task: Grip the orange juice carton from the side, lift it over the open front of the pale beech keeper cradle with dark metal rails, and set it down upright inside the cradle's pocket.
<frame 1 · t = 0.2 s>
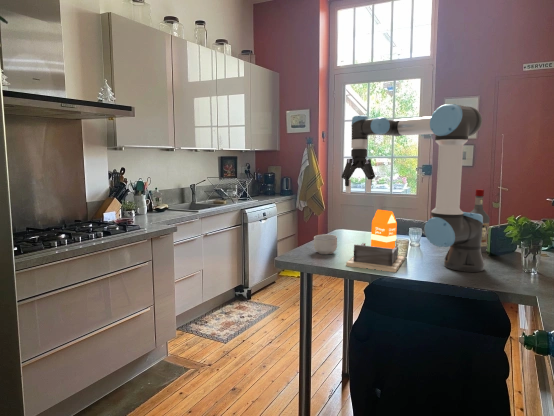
hand: (358, 192, 197), 27 cm above the table, tool pointing down, fingers open, 13 cm apart
keeper cradle: (376, 262, 174), on the table
liquor: (475, 250, 201), on the table
teacup: (325, 252, 191), on the table
orange juice: (382, 252, 194), on the table
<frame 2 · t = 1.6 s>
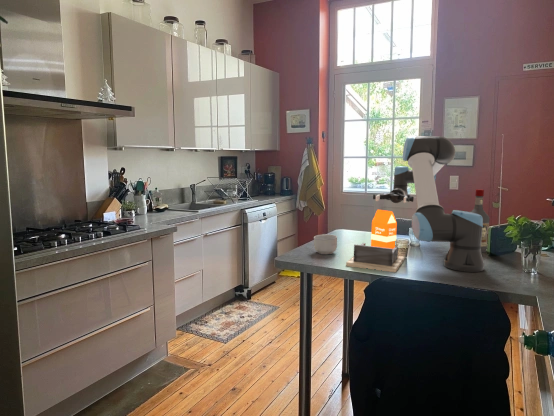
hand: (390, 199, 202), 24 cm above the table, tool horizontal, fingers open, 13 cm apart
nothing on the table moved.
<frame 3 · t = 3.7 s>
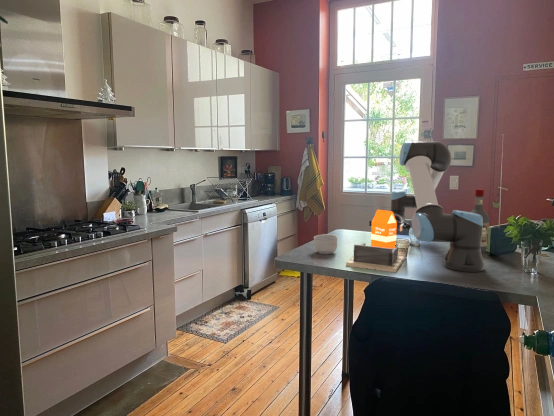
hand: (386, 227, 198), 11 cm above the table, tool horizontal, fingers open, 13 cm apart
nothing on the table moved.
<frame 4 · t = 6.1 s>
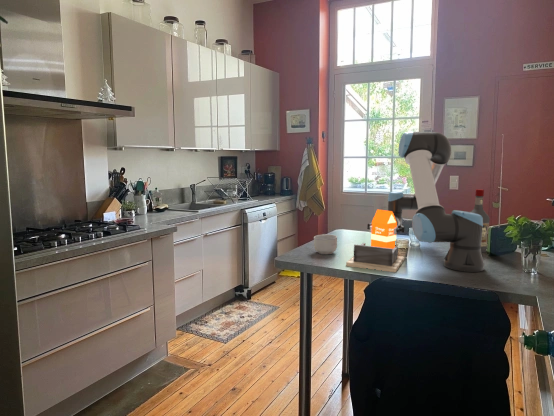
hand: (382, 230, 188), 11 cm above the table, tool horizontal, fingers closed on orange juice, 10 cm apart
orange juice: (382, 252, 194), on the table, touching gripper
everything else where it was.
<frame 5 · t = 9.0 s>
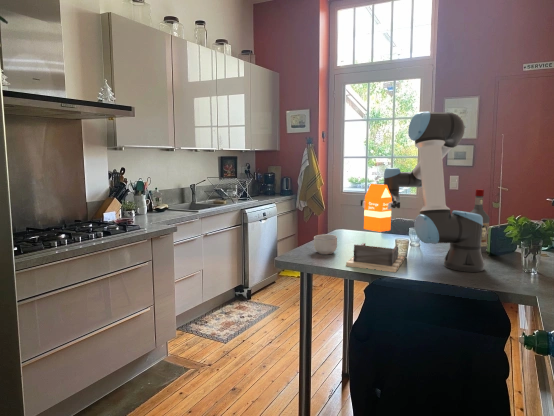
hand: (375, 205, 174), 24 cm above the table, tool horizontal, fingers closed on orange juice, 10 cm apart
orange juice: (376, 229, 180), point 13 cm above the table, touching gripper
everything else where it was.
when the fingers open (14 cm above the table, at t = 12.1 s): orange juice stays where it is, resting on keeper cradle.
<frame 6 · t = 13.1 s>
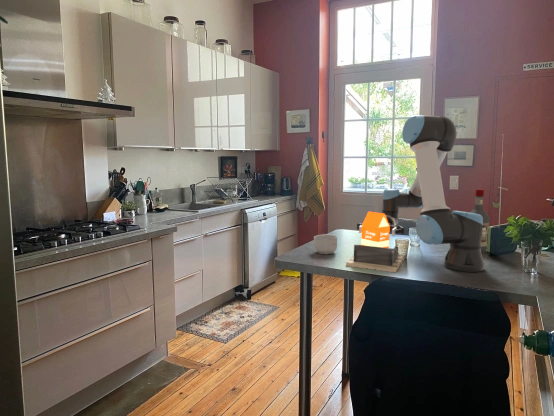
hand: (376, 231, 169), 14 cm above the table, tool horizontal, fingers open, 13 cm apart
orange juice: (374, 259, 174), point 1 cm above the table, touching gripper, keeper cradle
everything else where it was.
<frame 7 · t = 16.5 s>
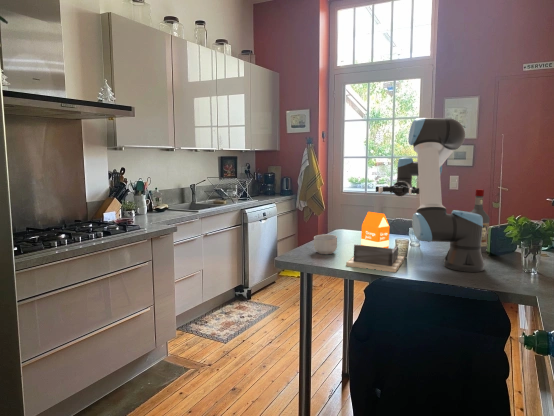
hand: (394, 191, 188), 29 cm above the table, tool horizontal, fingers open, 13 cm apart
orange juice: (374, 259, 174), point 1 cm above the table, touching keeper cradle
everything else where it was.
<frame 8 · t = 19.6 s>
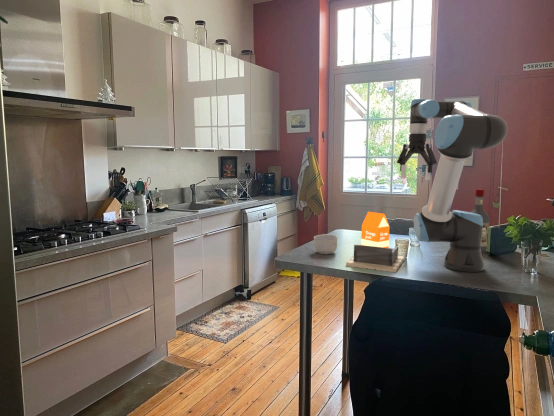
hand: (415, 179, 191), 35 cm above the table, tool pointing down, fingers open, 13 cm apart
nothing on the table moved.
at the end: orange juice inside the target area on the keeper cradle (1.0 cm from its centre), point 1.3 cm above the keeper cradle's base; orange juice tilted 0°; the gripper is holding nothing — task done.
